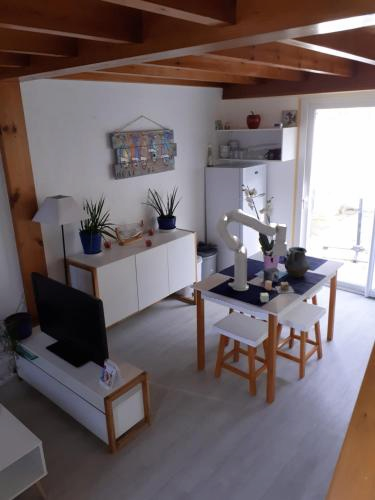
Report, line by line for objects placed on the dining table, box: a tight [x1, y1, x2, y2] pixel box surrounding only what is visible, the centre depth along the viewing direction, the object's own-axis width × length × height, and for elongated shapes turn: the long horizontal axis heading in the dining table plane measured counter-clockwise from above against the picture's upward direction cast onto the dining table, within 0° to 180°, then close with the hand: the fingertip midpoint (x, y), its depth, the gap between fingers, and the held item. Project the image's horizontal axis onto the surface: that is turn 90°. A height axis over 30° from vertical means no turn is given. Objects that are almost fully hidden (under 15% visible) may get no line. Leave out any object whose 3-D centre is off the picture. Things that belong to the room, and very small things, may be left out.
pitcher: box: [284, 246, 311, 279], centre depth 336 cm, size 21×22×25 cm
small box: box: [263, 267, 280, 284], centre depth 329 cm, size 11×6×10 cm, turn 105°
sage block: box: [259, 292, 270, 303], centre depth 298 cm, size 5×5×5 cm
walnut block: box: [280, 281, 290, 291], centre depth 314 cm, size 5×5×5 cm
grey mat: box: [274, 285, 295, 294], centre depth 315 cm, size 12×12×1 cm
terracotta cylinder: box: [264, 281, 273, 291], centre depth 317 cm, size 5×5×6 cm
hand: (278, 262), depth 310 cm, fingers open, 9 cm apart
